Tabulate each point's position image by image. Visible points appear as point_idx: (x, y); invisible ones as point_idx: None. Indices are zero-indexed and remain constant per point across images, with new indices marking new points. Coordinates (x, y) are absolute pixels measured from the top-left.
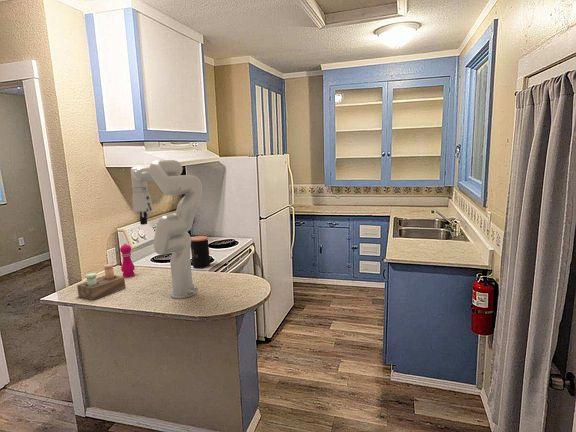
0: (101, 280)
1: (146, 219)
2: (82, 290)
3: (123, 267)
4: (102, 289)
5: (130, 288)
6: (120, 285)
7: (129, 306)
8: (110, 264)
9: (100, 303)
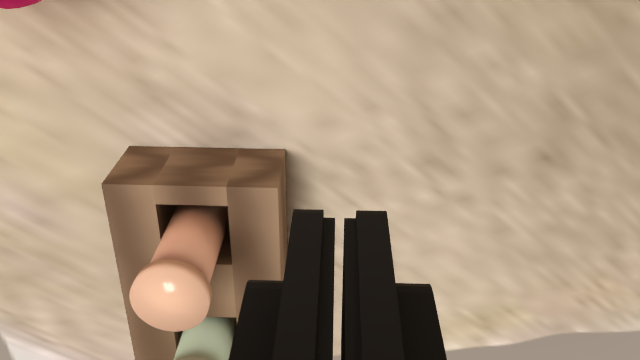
0: None
1: (443, 352)
2: None
3: (10, 7)
4: None
5: (329, 144)
6: (283, 195)
7: (551, 321)
8: (177, 290)
9: None
